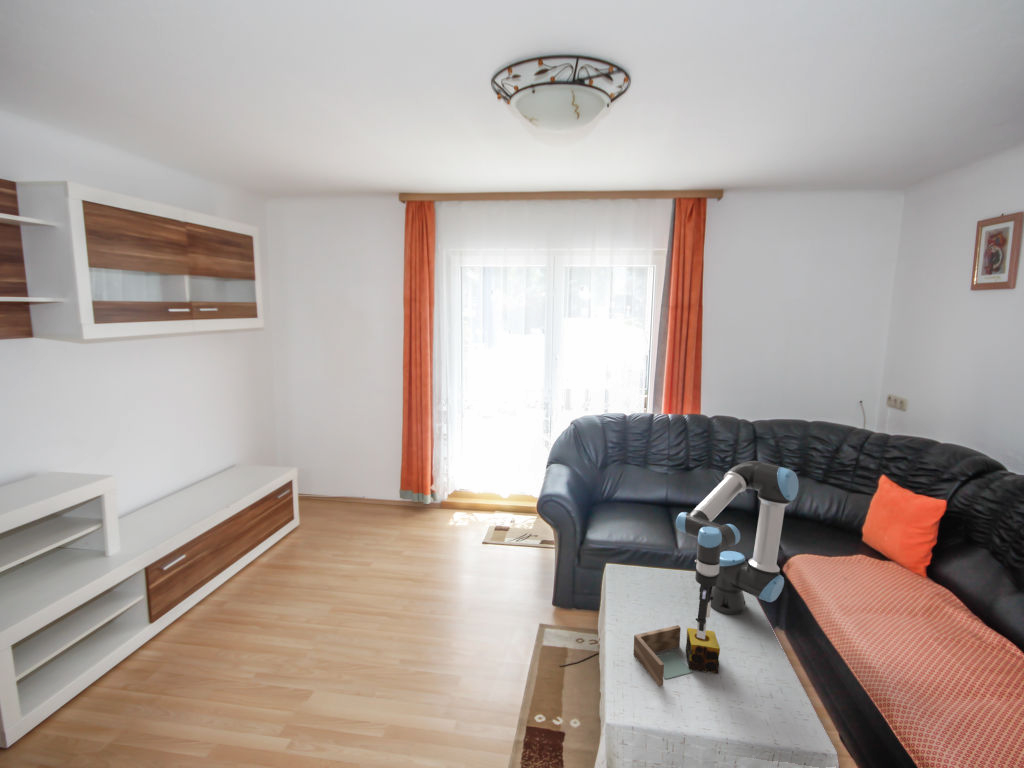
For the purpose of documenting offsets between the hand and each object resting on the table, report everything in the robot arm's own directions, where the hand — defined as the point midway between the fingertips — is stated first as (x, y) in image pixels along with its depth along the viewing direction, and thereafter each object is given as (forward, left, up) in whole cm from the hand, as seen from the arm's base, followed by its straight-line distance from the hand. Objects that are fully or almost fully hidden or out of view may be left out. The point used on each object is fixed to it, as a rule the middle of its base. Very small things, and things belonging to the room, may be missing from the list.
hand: (703, 626), depth 181 cm
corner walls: (+11, -3, -15) cm, 18 cm away
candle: (0, 0, -15) cm, 15 cm away
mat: (+11, -3, -15) cm, 19 cm away
